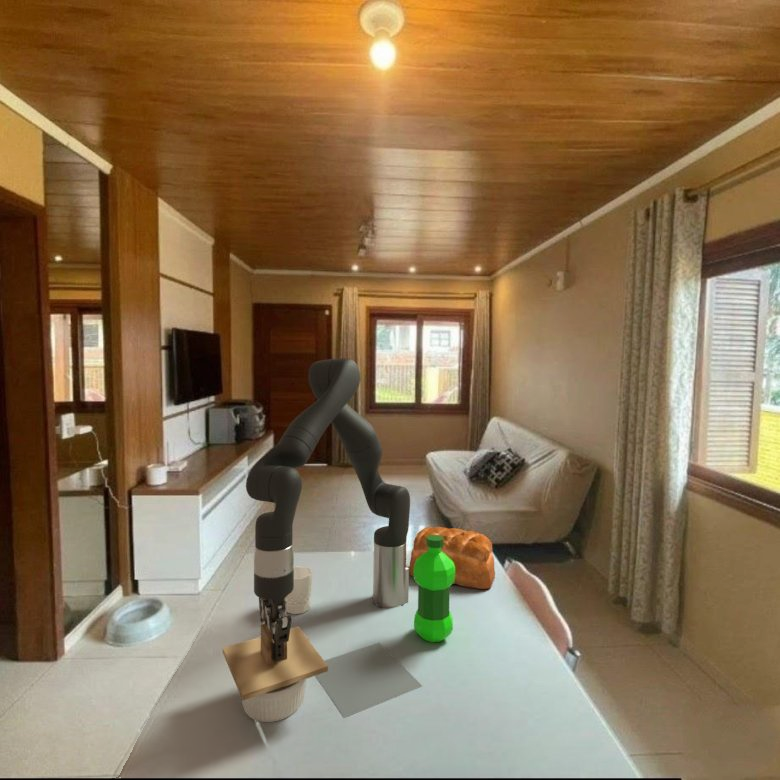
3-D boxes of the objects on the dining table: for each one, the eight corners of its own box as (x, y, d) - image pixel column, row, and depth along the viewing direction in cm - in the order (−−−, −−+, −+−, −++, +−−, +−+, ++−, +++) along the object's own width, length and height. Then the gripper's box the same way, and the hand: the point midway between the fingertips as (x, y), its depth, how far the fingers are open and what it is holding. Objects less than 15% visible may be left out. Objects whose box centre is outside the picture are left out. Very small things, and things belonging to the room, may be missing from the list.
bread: (490, 593, 141) (491, 542, 141) (405, 579, 150) (406, 530, 149) (496, 574, 154) (497, 527, 154) (417, 562, 163) (418, 517, 162)
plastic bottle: (403, 638, 117) (405, 537, 116) (430, 621, 125) (432, 527, 124) (436, 655, 110) (438, 549, 109) (462, 636, 118) (464, 537, 117)
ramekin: (272, 740, 85) (272, 702, 85) (223, 711, 92) (223, 676, 92) (321, 697, 96) (321, 663, 96) (274, 674, 103) (274, 642, 103)
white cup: (276, 612, 129) (276, 575, 128) (293, 598, 136) (293, 564, 136) (301, 618, 126) (302, 581, 125) (317, 604, 133) (317, 569, 133)
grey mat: (379, 644, 114) (379, 642, 114) (422, 688, 99) (422, 685, 99) (308, 668, 105) (308, 665, 105) (343, 720, 90) (343, 717, 90)
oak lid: (298, 630, 105) (298, 599, 104) (327, 671, 91) (328, 635, 91) (222, 652, 96) (222, 618, 96) (242, 700, 83) (242, 661, 82)
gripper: (305, 577, 89) (305, 667, 89) (281, 551, 101) (280, 630, 102) (265, 586, 85) (265, 680, 86) (245, 558, 97) (245, 640, 98)
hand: (273, 652), depth 94 cm, fingers closed on oak lid, 4 cm apart
